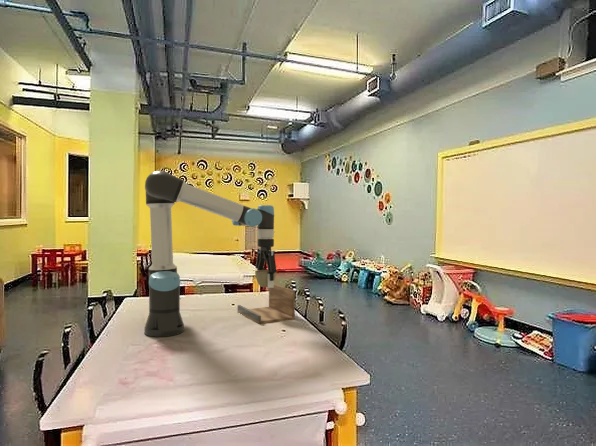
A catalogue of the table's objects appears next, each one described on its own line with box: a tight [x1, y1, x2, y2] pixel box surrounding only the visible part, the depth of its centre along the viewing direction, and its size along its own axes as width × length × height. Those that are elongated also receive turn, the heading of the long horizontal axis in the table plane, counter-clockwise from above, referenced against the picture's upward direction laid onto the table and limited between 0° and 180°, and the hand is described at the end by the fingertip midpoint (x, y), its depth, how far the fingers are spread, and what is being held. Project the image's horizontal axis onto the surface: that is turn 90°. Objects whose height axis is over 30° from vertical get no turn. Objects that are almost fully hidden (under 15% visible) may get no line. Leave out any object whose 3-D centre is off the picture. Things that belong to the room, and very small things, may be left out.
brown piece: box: [237, 283, 296, 325], centre depth 193 cm, size 18×24×13 cm
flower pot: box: [254, 269, 277, 288], centre depth 193 cm, size 10×10×7 cm
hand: (265, 285), depth 193 cm, fingers closed on flower pot, 10 cm apart
